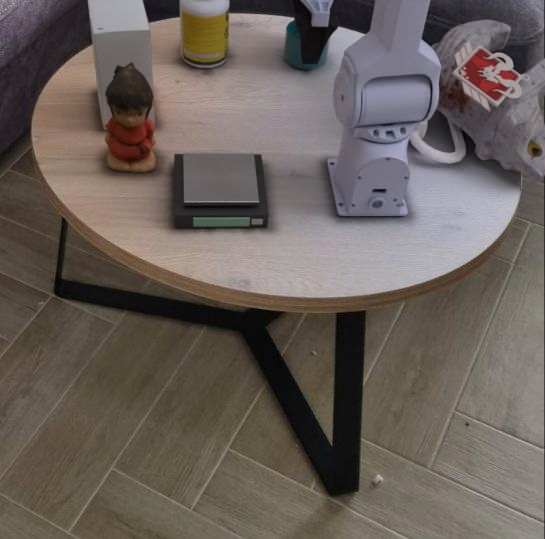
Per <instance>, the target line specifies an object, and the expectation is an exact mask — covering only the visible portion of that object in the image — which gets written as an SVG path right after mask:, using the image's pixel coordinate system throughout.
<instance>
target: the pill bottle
mask: <svg viewBox="0 0 545 539" xmlns="http://www.w3.org/2000/svg"><path fill="white" fill-rule="evenodd" d="M229 29H230V0H179V32H180V34H179V35H180V36H179V37H180V56H181V58H182V60H183V61H184V62H185V63H187V65H190V66H191V67H195V68H199V69H212V68H216V67H219V66H221V65H222V64H224V63H225V61H227V59H228V57H229V56H228V55H229V31H230V30H229Z"/></svg>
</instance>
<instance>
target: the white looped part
mask: <svg viewBox="0 0 545 539" xmlns="http://www.w3.org/2000/svg"><path fill="white" fill-rule="evenodd" d="M446 119H447V122H448V125H449V129H450V133H451V137H452V140H453V144H454V151H453V152H446V151H440V150H438V149H435V148H433V147H432V146H430V145H428V144H427V142H425V141H424V140H423V139H424V138H425V135H426V133H427V130H428V125H429V124H428V122H429V120H428V121H425V122H420V125H419V128H418V131H417V132H412V133H411V134H410V138H409V141H410V143H411V145H412V146H413V147H414V148H415V149H416V150H417V151H418V152H419V153H420V154H422V155H424V156H425V157H427V158H428V159H430V160H433V161H436V162H439V163H443V164H455V163H460V162H461V161H462V160H463V159H464V157H465V156H466V155H467V145H466V143H465V138H464V136H463V132H462V129H461V128H459V127H458V126H457V125H455V124H454V123H453V122H452V121H451V120H449V119H448V118H447V117H446Z"/></svg>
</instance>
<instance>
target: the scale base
mask: <svg viewBox="0 0 545 539" xmlns="http://www.w3.org/2000/svg"><path fill="white" fill-rule="evenodd" d="M253 154H254V159H255V168H256V177H257V186H258V195H259V205H258V206H184V198H183V153H174V155H173V156H174V157H173V159H174V160H173V188H174V189H173V223H174V225H173V226H174V227H173V228H174V229H248V228H249V229H253V228H254V229H255V228H256V229H257V228H259V229H261V228H263V229H265V228H267V229H268V225H269V206H268V197H267V189H266V181H265V173H264V164H263V156H262V155H263V154H261V153H253Z"/></svg>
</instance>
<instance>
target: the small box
mask: <svg viewBox="0 0 545 539" xmlns="http://www.w3.org/2000/svg"><path fill="white" fill-rule="evenodd" d="M87 7H88V15H89V25H90V33H91V43H92V44H91V45H92V53H93V61H94V70H95V78H96V89H97V97H98V103H99V104H98V105H99V109H100V110H99V111H100V115H101V122H102V126H103V129H104V130H105V131H108V130H107V129H106V127H105V125H106V124H107V123H108V122H109V120H110V119H111V117H112V113H111V110H110V107H109V106H108V104H107V101H106V100H107V97H106V96H105V92H106V90H107V87H108V85H109V84H110V83H111V81H112V80H113V76H114V75H115V74H114V71H115V69H116V67H117V65H119V66H121V67H125V66H127V65H128V64H129V63H131V62H133V64H134V67H135V68H136V69H137V70H138V71H139V72H141V73H142V74H143V75H144V77H145V78H146V80H147V82H148V83H149V85H150V87H151V89H152V91H153V92H154V76H153V75H154V74H153V58H152V57H153V55H152V34H151V26H150V22H149V19H148V18H149V17H148V15H147V11H146V7H145V3H144V0H87ZM153 97H154V98H153V102H154V103H155V96H154V94H153ZM148 118H149V119H150V120H151V121H153V125H154V126H155V125H156V112H155V105H154V106H153V107H152V109H151V110H150V113H149V115H148Z"/></svg>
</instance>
